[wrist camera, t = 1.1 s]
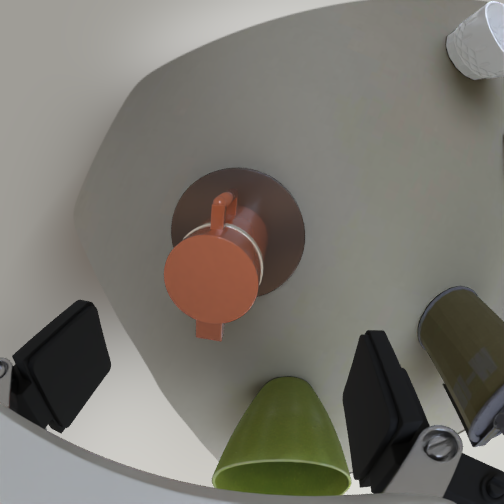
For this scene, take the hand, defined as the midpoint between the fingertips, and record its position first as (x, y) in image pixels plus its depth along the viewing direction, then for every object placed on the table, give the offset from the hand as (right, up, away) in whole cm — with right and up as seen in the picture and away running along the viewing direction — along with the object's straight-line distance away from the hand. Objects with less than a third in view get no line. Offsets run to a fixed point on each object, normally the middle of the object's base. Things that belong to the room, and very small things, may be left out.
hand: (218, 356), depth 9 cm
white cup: (+27, +27, +12) cm, 40 cm away
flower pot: (+6, -17, +29) cm, 34 cm away
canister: (+28, -6, +23) cm, 36 cm away
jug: (-1, +5, +20) cm, 21 cm away
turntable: (0, +5, +22) cm, 23 cm away
